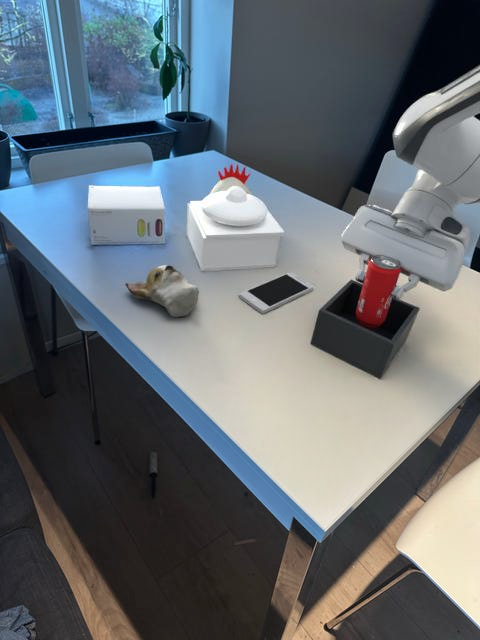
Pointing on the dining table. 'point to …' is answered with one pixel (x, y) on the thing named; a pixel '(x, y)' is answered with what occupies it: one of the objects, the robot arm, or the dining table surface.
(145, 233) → the supplement box
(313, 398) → the dining table surface
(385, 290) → the beverage can
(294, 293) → the smartphone
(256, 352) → the dining table surface
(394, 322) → the bin
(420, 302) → the dining table surface
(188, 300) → the ceramic sculpture
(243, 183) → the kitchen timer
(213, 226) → the butter dish
